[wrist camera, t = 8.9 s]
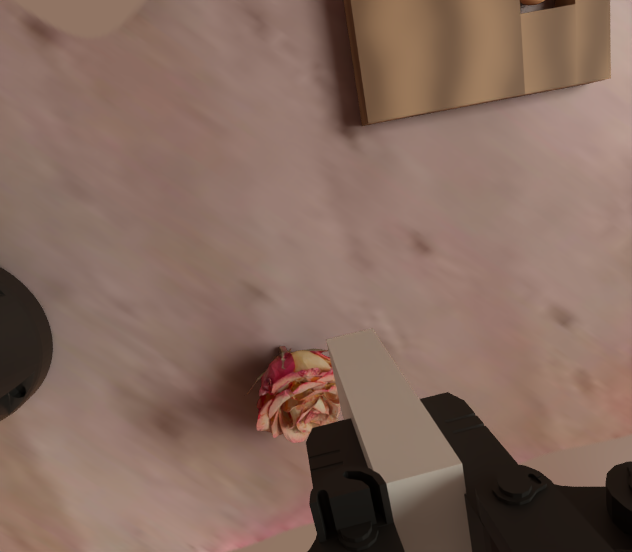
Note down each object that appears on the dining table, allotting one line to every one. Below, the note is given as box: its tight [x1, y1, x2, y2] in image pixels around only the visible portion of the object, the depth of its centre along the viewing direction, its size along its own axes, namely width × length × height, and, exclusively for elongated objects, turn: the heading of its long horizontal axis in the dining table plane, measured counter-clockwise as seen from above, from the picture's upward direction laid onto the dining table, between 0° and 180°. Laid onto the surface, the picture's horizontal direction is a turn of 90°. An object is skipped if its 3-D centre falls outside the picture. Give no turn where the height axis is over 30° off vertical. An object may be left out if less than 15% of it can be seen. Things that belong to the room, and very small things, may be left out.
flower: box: [246, 346, 340, 443], centre depth 39 cm, size 10×9×8 cm
